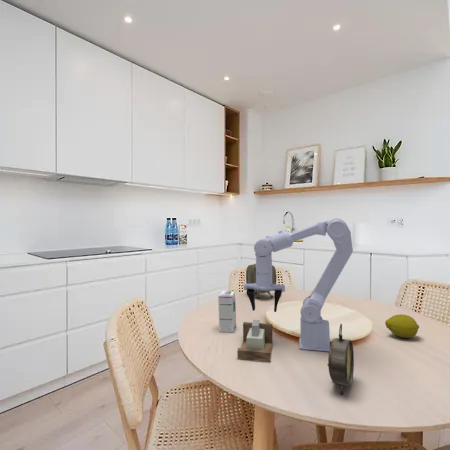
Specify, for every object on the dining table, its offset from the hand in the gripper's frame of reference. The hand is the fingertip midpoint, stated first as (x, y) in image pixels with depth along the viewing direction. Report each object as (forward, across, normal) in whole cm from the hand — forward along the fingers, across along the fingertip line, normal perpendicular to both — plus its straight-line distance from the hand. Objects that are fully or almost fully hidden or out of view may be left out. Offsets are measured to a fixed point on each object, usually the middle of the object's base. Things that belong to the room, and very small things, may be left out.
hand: (264, 310), depth 104 cm
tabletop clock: (+11, -7, +51) cm, 52 cm away
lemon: (+11, +48, +11) cm, 50 cm away
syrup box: (+11, -15, +6) cm, 19 cm away
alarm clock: (+11, +22, -24) cm, 34 cm away
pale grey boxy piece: (+10, -2, -9) cm, 14 cm away
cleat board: (+10, -2, -10) cm, 14 cm away
